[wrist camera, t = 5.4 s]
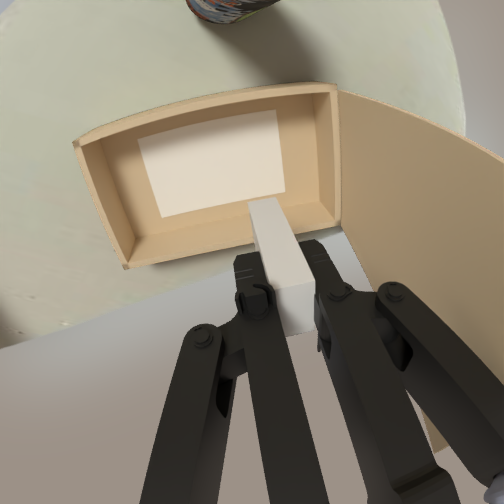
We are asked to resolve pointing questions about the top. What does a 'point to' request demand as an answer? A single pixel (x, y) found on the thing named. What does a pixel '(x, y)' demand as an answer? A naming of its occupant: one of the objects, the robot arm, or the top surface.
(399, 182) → the lid
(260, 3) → the beverage can
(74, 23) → the top surface
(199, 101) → the box
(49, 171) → the top surface
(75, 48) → the top surface
